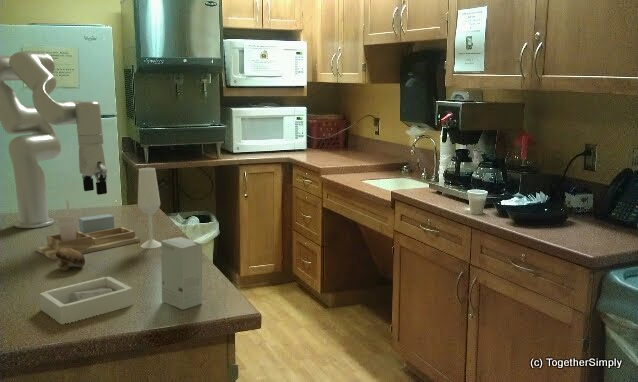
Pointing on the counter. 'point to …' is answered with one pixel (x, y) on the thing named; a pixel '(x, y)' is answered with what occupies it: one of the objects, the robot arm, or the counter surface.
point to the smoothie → (67, 224)
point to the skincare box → (181, 272)
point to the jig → (89, 241)
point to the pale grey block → (96, 223)
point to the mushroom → (70, 258)
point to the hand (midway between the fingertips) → (95, 192)
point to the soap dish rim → (85, 300)
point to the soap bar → (89, 294)
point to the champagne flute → (148, 200)
